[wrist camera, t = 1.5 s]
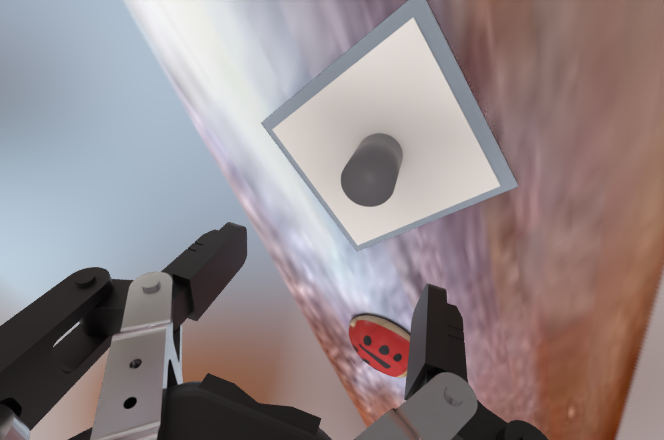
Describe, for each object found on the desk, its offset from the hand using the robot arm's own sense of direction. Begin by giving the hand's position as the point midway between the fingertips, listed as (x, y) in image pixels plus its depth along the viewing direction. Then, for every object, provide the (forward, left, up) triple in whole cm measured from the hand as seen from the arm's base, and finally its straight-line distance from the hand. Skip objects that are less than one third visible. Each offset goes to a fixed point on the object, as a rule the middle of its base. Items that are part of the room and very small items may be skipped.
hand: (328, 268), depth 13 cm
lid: (0, 0, -14) cm, 14 cm away
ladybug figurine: (+20, -12, -16) cm, 28 cm away
